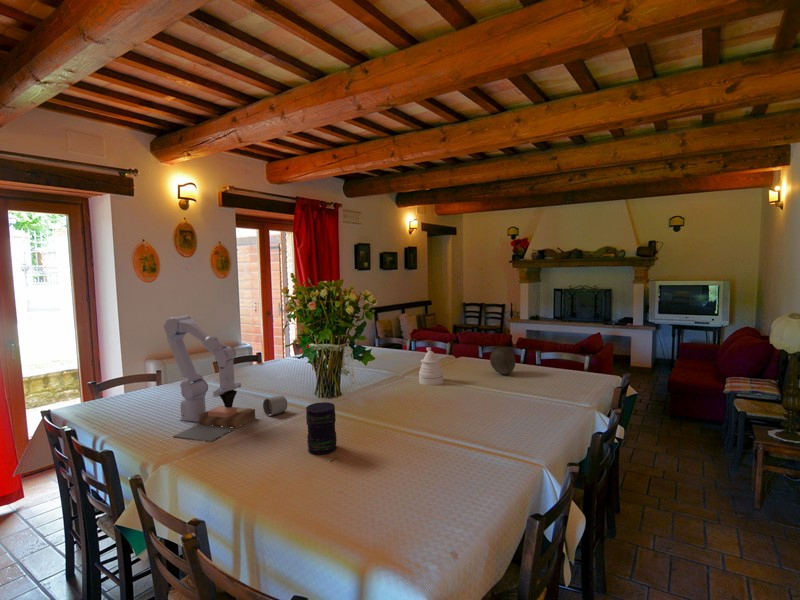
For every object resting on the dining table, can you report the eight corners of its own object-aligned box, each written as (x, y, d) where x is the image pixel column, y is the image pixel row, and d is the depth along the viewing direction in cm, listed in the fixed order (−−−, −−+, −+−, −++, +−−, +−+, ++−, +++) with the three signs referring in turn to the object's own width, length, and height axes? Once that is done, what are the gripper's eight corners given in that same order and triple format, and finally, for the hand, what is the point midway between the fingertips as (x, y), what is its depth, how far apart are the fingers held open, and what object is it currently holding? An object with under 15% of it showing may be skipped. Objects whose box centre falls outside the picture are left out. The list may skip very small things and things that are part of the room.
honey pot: (414, 380, 235) (414, 347, 234) (435, 377, 241) (434, 345, 239) (426, 386, 224) (425, 351, 222) (447, 383, 229) (447, 349, 228)
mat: (172, 437, 165) (172, 436, 165) (198, 425, 177) (198, 424, 177) (211, 441, 159) (211, 440, 159) (235, 429, 172) (235, 428, 172)
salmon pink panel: (208, 415, 176) (208, 411, 176) (218, 411, 182) (218, 406, 182) (226, 417, 173) (226, 412, 173) (236, 412, 179) (236, 408, 179)
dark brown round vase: (519, 372, 246) (518, 346, 245) (511, 378, 234) (510, 350, 233) (494, 370, 253) (494, 344, 252) (486, 375, 242) (485, 348, 240)
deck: (199, 424, 178) (198, 415, 177) (220, 414, 189) (219, 405, 189) (236, 428, 172) (235, 418, 172) (255, 418, 183) (254, 408, 183)
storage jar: (324, 441, 157) (322, 400, 156) (343, 447, 151) (341, 405, 149) (301, 450, 149) (299, 408, 148) (320, 458, 143) (318, 413, 142)
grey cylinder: (289, 412, 189) (288, 395, 189) (272, 417, 183) (271, 399, 183) (275, 408, 196) (274, 391, 196) (258, 413, 190) (257, 396, 190)
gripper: (222, 381, 172) (224, 415, 173) (246, 372, 186) (248, 404, 187) (208, 380, 174) (210, 413, 175) (232, 372, 188) (234, 402, 189)
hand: (228, 408), depth 181 cm, fingers closed
